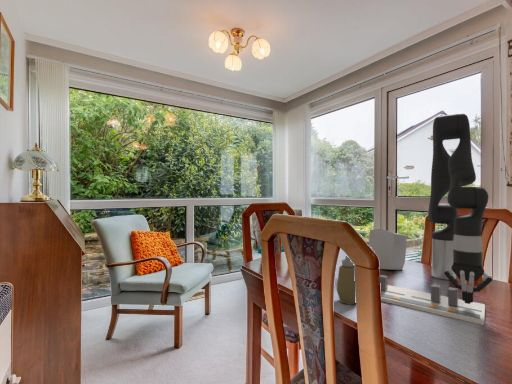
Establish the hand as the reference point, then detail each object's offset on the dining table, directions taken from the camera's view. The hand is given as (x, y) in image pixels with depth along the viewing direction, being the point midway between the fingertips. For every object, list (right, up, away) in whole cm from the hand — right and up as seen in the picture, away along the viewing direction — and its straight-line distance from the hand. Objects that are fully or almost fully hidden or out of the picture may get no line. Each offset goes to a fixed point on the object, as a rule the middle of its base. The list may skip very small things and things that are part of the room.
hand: (467, 302), depth 92 cm
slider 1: (-20, -1, +16) cm, 26 cm away
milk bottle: (-20, -3, +40) cm, 45 cm away
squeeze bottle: (-36, -3, +8) cm, 37 cm away
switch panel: (-9, -3, +7) cm, 12 cm away
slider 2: (-3, -1, +2) cm, 4 cm away
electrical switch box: (0, -3, +55) cm, 55 cm away
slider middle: (-7, -1, +5) cm, 9 cm away
